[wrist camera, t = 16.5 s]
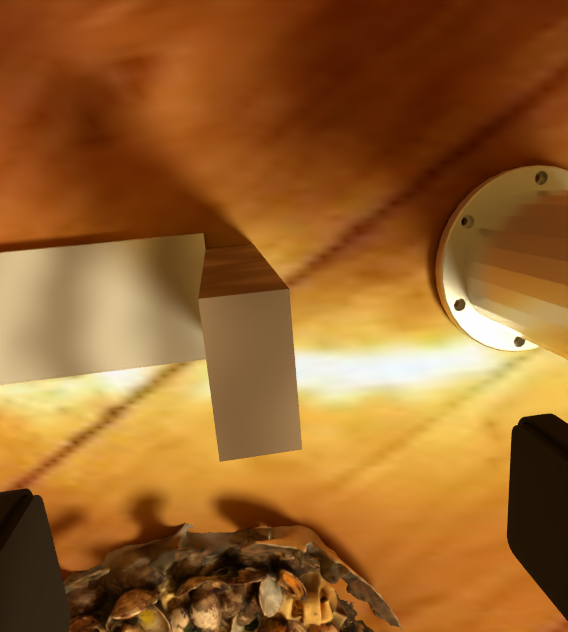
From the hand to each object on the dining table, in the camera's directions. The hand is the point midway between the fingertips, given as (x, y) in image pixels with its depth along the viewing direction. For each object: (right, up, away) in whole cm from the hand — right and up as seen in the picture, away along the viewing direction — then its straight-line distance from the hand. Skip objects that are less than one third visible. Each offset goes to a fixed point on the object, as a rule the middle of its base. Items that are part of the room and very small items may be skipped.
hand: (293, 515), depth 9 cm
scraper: (-12, +4, +20) cm, 24 cm away
